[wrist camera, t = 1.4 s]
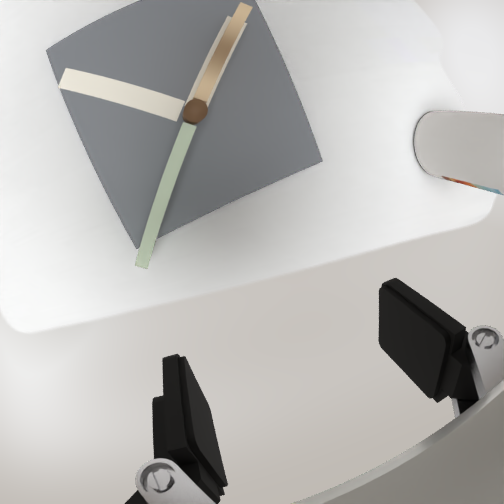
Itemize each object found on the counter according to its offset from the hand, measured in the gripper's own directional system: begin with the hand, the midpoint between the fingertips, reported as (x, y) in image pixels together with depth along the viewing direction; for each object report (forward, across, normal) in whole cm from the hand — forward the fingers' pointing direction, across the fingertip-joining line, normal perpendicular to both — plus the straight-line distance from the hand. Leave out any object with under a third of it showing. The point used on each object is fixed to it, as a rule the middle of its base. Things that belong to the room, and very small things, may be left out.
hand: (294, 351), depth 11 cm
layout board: (+18, 0, -12) cm, 21 cm away
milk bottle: (+18, -26, -3) cm, 31 cm away
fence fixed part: (+18, -3, -13) cm, 22 cm away
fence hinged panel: (+17, +4, -4) cm, 18 cm away
